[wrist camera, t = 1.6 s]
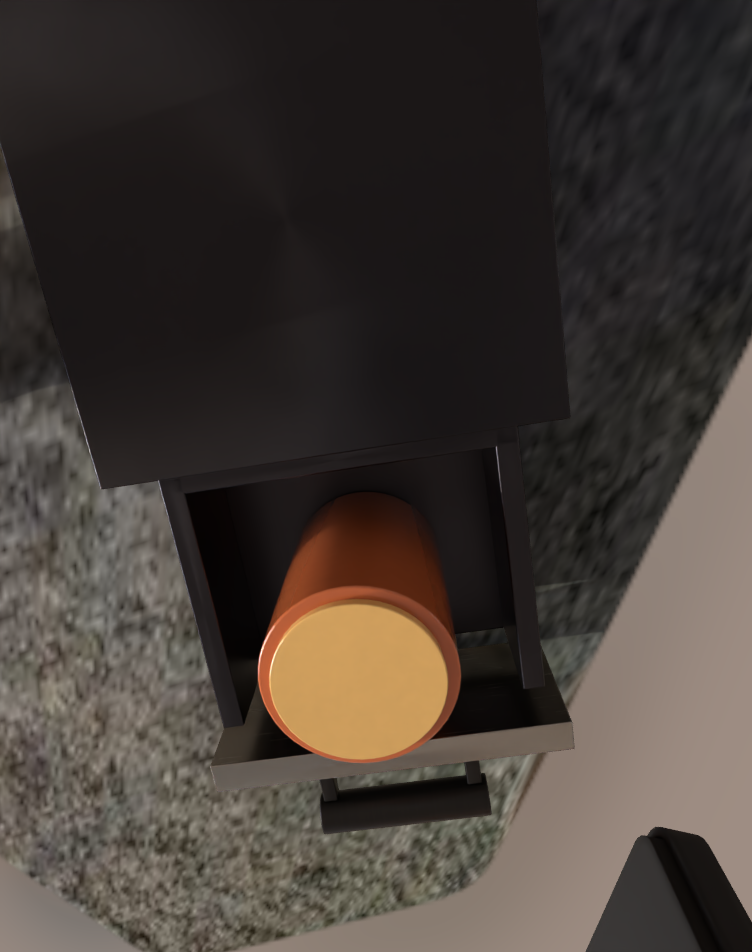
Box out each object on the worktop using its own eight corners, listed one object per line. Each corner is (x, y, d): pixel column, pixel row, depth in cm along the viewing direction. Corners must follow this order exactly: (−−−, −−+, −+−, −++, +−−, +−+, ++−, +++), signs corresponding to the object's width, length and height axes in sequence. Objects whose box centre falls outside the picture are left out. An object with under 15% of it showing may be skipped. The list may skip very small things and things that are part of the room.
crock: (429, 480, 27) (448, 576, 19) (449, 614, 29) (474, 758, 20) (282, 502, 27) (235, 606, 19) (310, 633, 29) (277, 782, 21)
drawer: (549, 740, 32) (583, 842, 26) (266, 775, 33) (241, 880, 27) (512, 387, 27) (544, 418, 21) (182, 438, 28) (130, 481, 22)
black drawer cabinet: (522, 379, 28) (571, 418, 20) (174, 433, 29) (100, 489, 21) (483, -5, 24) (526, -130, 17) (83, 72, 25) (-47, -12, 18)
